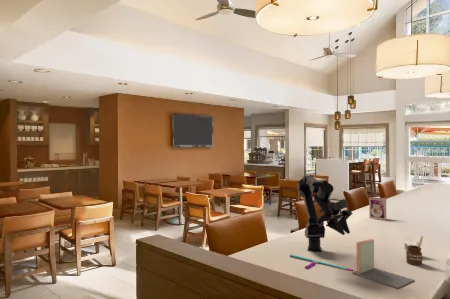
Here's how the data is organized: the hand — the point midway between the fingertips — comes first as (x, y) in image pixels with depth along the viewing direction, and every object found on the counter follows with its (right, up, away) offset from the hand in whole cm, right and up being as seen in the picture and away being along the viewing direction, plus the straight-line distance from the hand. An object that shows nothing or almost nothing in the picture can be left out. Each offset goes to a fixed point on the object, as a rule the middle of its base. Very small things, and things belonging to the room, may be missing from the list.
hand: (346, 233), depth 138 cm
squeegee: (-14, -15, 0) cm, 20 cm away
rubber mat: (+9, -13, -13) cm, 21 cm away
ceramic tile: (+5, -7, -7) cm, 11 cm away
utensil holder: (+30, -14, +2) cm, 33 cm away
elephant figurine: (+36, -14, +13) cm, 40 cm away
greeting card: (+59, -14, +95) cm, 113 cm away
